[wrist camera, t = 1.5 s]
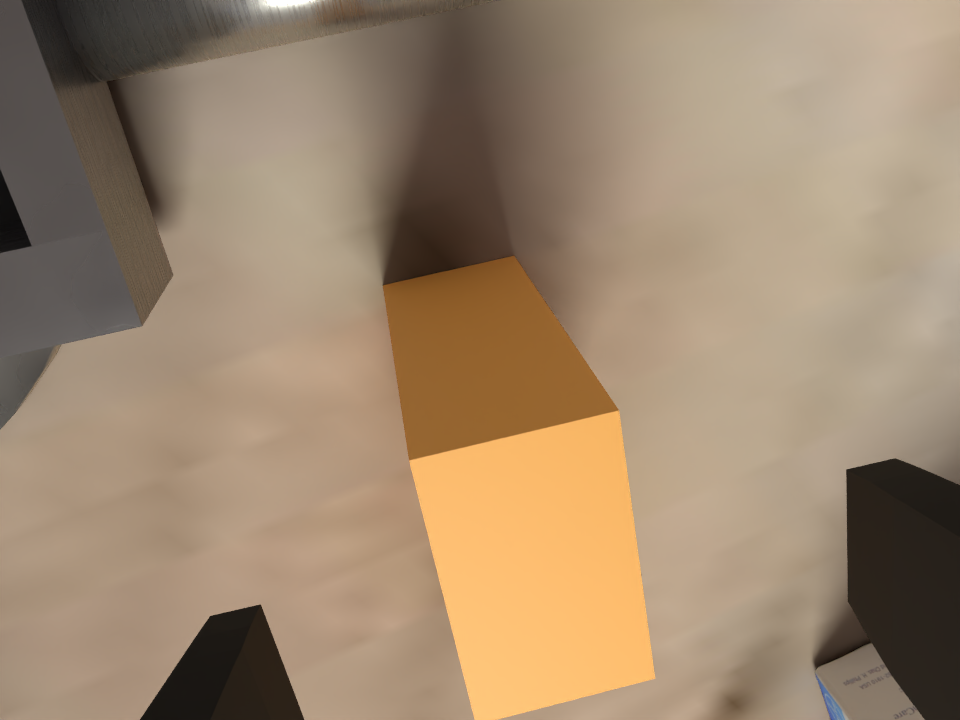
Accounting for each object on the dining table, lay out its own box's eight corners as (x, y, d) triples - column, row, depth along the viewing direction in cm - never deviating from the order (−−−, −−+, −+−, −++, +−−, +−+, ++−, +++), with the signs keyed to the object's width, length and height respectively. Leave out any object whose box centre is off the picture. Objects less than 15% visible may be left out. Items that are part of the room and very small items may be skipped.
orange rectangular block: (547, 447, 21) (655, 678, 14) (428, 475, 21) (476, 724, 14) (513, 255, 19) (618, 410, 12) (382, 285, 19) (409, 460, 12)
